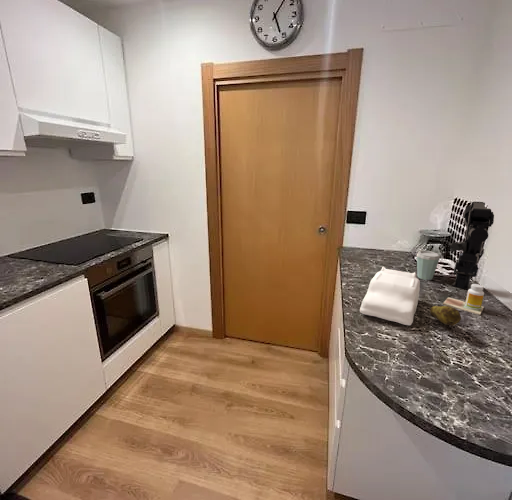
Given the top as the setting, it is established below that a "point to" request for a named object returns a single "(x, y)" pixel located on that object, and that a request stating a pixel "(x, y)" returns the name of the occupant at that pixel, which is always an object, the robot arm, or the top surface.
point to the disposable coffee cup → (426, 264)
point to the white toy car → (392, 296)
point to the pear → (446, 314)
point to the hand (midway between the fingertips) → (468, 271)
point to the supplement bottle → (474, 297)
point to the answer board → (460, 305)
